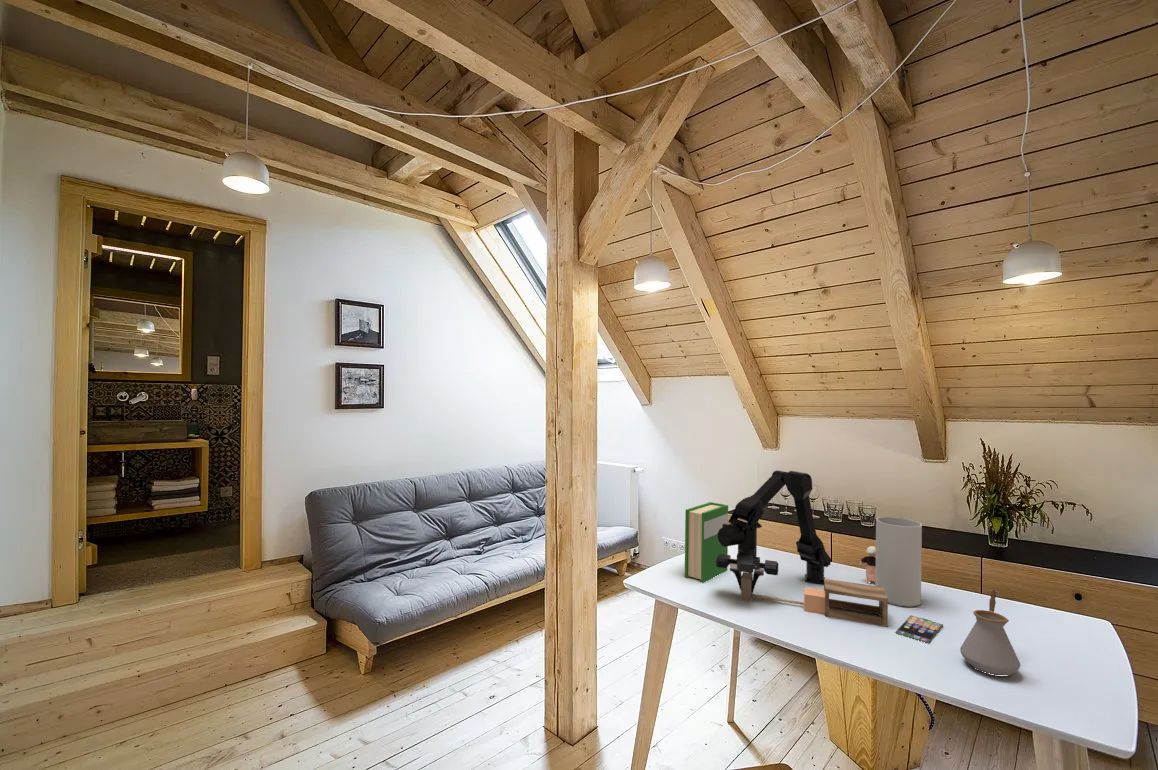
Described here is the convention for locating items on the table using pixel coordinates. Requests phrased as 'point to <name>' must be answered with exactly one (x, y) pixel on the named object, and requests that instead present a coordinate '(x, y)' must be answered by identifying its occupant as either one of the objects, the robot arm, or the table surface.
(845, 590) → the shelf lane
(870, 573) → the grandmother figurine
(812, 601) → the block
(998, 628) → the coffee pot
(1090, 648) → the table surface
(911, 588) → the cylinder vase
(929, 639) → the smartphone
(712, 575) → the hardback book
